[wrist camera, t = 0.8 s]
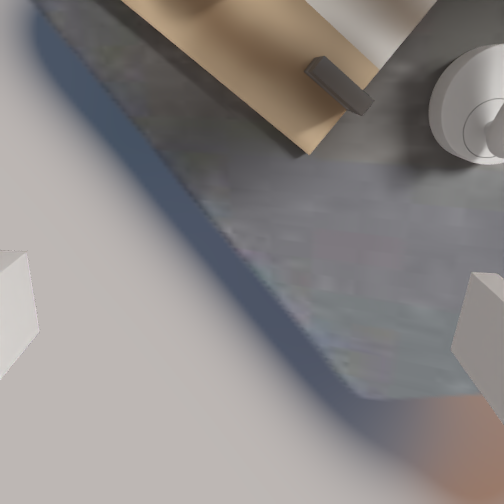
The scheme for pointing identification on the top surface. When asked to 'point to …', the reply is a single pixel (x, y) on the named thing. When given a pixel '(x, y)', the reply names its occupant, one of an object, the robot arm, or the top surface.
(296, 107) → the door plate
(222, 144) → the top surface
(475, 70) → the wall hook
